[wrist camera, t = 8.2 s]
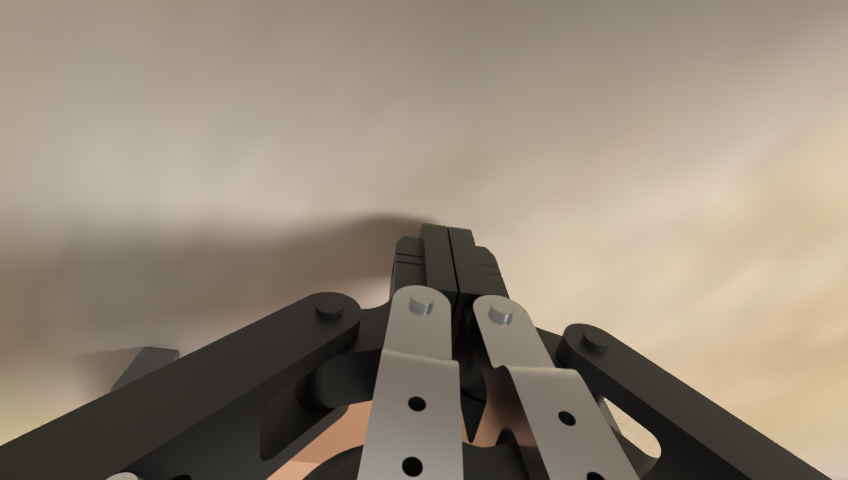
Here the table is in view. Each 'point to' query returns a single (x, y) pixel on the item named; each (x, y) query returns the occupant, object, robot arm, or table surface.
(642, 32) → the table surface
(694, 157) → the table surface
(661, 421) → the robot arm
